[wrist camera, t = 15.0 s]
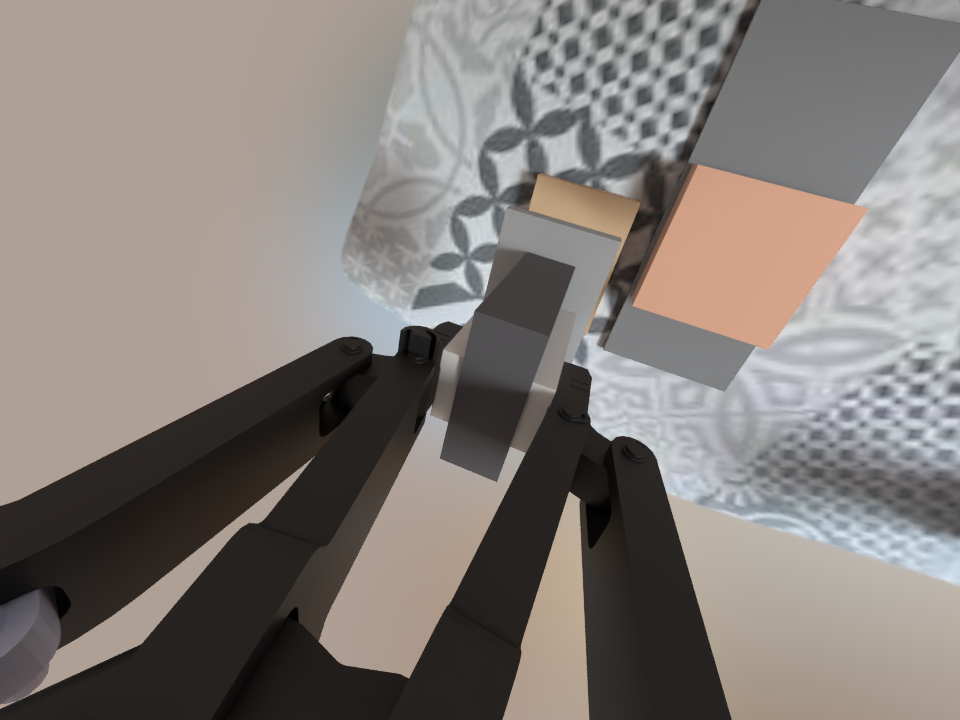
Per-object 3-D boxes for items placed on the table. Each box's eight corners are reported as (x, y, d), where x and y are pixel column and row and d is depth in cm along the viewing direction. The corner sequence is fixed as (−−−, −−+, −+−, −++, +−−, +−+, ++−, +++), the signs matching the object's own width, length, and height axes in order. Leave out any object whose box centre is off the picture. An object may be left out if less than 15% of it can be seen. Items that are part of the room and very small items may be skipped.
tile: (698, 164, 22) (632, 306, 27) (868, 208, 21) (767, 349, 26) (692, 163, 24) (631, 295, 29) (849, 203, 23) (758, 336, 28)
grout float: (512, 205, 18) (438, 243, 10) (621, 237, 17) (622, 303, 10) (471, 368, 22) (400, 471, 15) (554, 399, 22) (522, 523, 14)
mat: (764, -10, 20) (767, -13, 20) (969, 29, 19) (977, 26, 18) (603, 347, 32) (603, 349, 31) (723, 388, 30) (724, 391, 30)
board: (541, 173, 27) (538, 174, 26) (640, 200, 26) (641, 202, 25) (505, 301, 33) (502, 306, 32) (587, 329, 32) (585, 335, 31)
